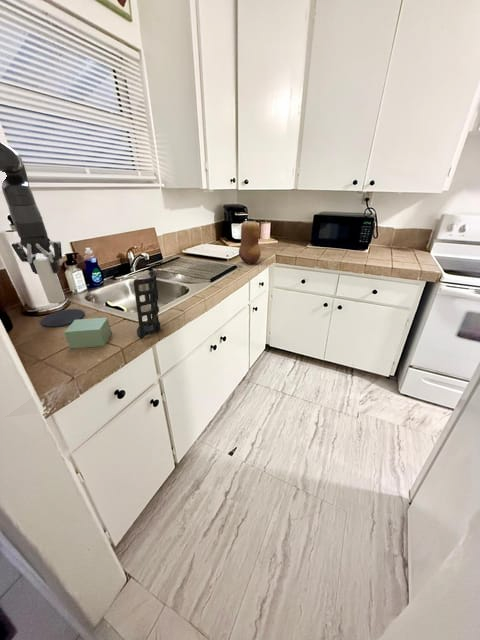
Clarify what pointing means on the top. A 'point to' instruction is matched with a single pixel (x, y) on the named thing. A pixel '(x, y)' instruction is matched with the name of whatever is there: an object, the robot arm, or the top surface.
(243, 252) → the butternut squash
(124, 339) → the top surface
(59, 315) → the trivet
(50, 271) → the gray elongated block
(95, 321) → the leaning block
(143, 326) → the holder
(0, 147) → the robot arm
